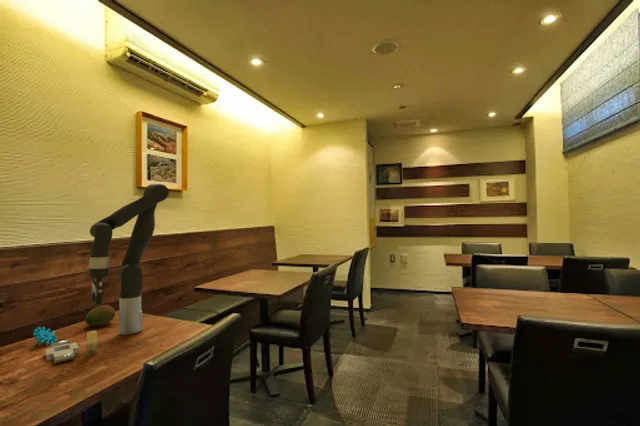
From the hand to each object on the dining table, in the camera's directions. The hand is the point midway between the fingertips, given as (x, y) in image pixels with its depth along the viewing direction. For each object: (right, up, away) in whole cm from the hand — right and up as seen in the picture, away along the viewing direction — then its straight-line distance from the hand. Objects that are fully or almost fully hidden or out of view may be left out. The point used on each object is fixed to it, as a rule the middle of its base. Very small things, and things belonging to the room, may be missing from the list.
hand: (96, 302), depth 145 cm
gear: (-21, -18, -2) cm, 28 cm away
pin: (+8, -17, -13) cm, 23 cm away
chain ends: (-5, -17, -13) cm, 22 cm away
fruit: (-13, -18, +22) cm, 31 cm away
